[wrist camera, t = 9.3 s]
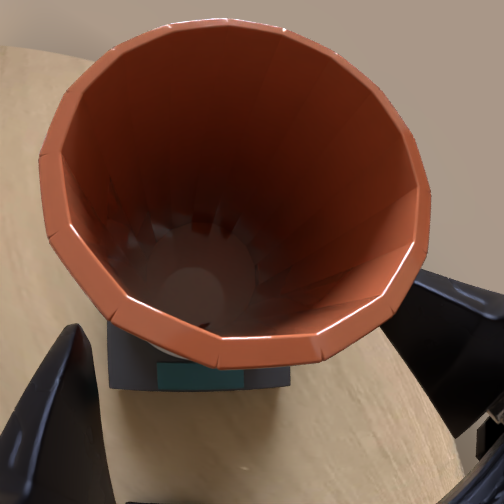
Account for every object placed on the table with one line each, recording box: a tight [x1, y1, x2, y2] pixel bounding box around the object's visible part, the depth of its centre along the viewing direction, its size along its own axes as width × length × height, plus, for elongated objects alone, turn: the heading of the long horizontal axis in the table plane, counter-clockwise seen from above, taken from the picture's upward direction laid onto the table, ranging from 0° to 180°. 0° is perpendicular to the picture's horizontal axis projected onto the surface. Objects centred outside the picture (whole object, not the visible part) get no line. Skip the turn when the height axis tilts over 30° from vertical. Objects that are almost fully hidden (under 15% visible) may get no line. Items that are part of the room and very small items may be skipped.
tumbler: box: [38, 18, 431, 370], centre depth 10 cm, size 7×7×13 cm
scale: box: [107, 320, 290, 392], centre depth 17 cm, size 12×11×3 cm
